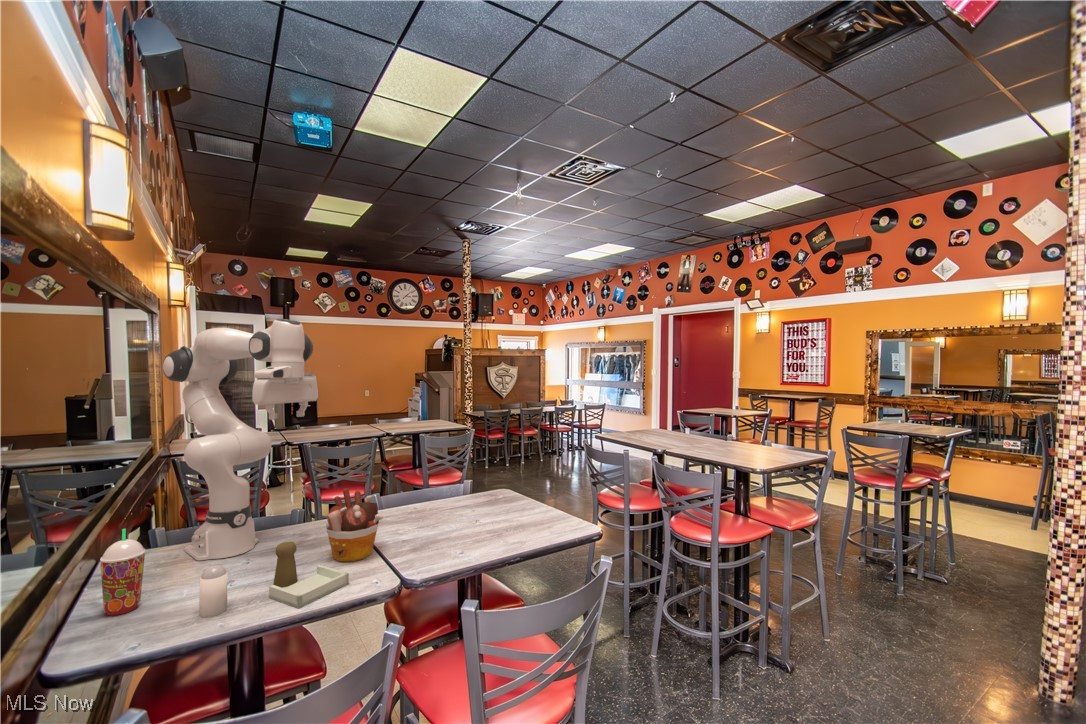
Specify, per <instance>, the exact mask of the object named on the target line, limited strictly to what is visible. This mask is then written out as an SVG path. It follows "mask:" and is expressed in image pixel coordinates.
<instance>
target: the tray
mask: <svg viewBox="0 0 1086 724" xmlns="http://www.w3.org/2000/svg"><path fill="white" fill-rule="evenodd" d="M349 574H350V573H349V572H346V571H343V570H339V569H335V568H332V567H329V566H325V565H321V564H319V565H317V566H316V574H314V575H311V576H309V577H307V578H304V579H302V580H300V581H297V583H295V584H293V585H290V586H288V587H283V588H281V587H278V586H275V585H273V584H272V585H269V587H268V598H269V599H271V600H274V601H277V602H280V603H282V604H284V605H288V606H290V607H293V608H296V609H300V608H303V607H304V606H307V605H309V604H311V603H314V602H315V601H317V600H318V599H321V598H323V597H326V596H327V595H329V594H331V593H333V592H336V591H337V590H340V589H342V588H344V587H346V586H348V585H349V583H350V582H349V580H350V579H349Z"/></svg>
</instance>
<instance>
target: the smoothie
mask: <svg viewBox="0 0 1086 724" xmlns="http://www.w3.org/2000/svg"><path fill="white" fill-rule="evenodd" d="M126 531H127V529H126V528H122V529H121V532H122V534H121V540H118V541H116V542H113V543H112V544H111V545H109V546H108V547H107V549H106V550H105V551H104V553H103V555H102V556H101V557H100V558H99V559H100V575H101V576H100V577H101V588H102V589H101V591H102V606H103V608H102V609H103V611H105V613H106V615H107V616H111V617H112V616H119V615H120V616H121V615H124V614H127V613H130V612H131V611H134V610H135V609H136V608H137V607H139V606H138V605H139V603H140V602H141V597H142V590H143V589H142V587H143V579H144V578H143V577H144V567H145V557H146V548H144V546H143V545H142V544H141V543H140V541H137V540H136V539H130V538H126Z"/></svg>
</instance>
